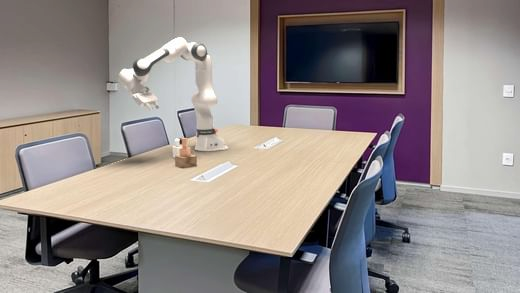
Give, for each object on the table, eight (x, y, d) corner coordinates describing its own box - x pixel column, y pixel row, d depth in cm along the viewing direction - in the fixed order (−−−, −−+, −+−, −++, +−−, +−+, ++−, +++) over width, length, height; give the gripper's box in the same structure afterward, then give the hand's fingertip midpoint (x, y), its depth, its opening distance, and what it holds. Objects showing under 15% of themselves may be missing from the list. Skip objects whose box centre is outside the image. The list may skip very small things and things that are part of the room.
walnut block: (189, 163, 268) (188, 153, 267) (196, 166, 261) (196, 155, 260) (175, 165, 263) (174, 155, 262) (182, 168, 256) (182, 158, 255)
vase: (183, 154, 264) (182, 137, 262) (190, 155, 263) (190, 137, 261) (179, 156, 259) (179, 139, 257) (187, 156, 258) (187, 139, 256)
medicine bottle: (182, 156, 290) (181, 137, 287) (188, 157, 284) (187, 138, 282) (172, 157, 285) (171, 138, 283) (178, 159, 280) (177, 139, 277)
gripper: (133, 89, 260) (150, 106, 259) (150, 87, 279) (165, 103, 279) (127, 97, 261) (143, 114, 261) (143, 94, 281) (159, 110, 281)
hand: (155, 108), depth 270 cm, fingers open, 8 cm apart
